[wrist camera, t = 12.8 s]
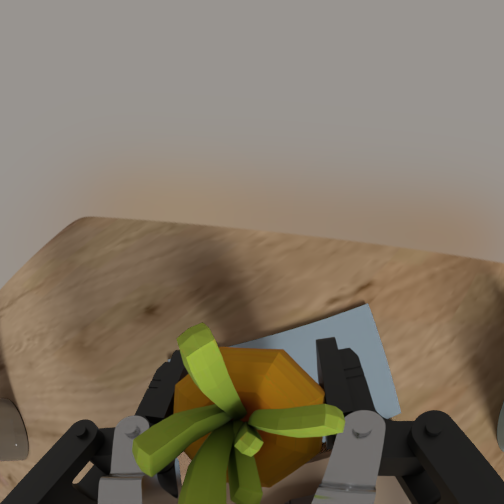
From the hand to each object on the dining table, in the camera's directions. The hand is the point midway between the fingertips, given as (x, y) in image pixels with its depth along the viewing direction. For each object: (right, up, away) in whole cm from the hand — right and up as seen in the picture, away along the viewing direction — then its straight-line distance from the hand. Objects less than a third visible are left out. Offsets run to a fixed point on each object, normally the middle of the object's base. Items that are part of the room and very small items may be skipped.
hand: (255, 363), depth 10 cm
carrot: (+2, -5, +6) cm, 8 cm away
